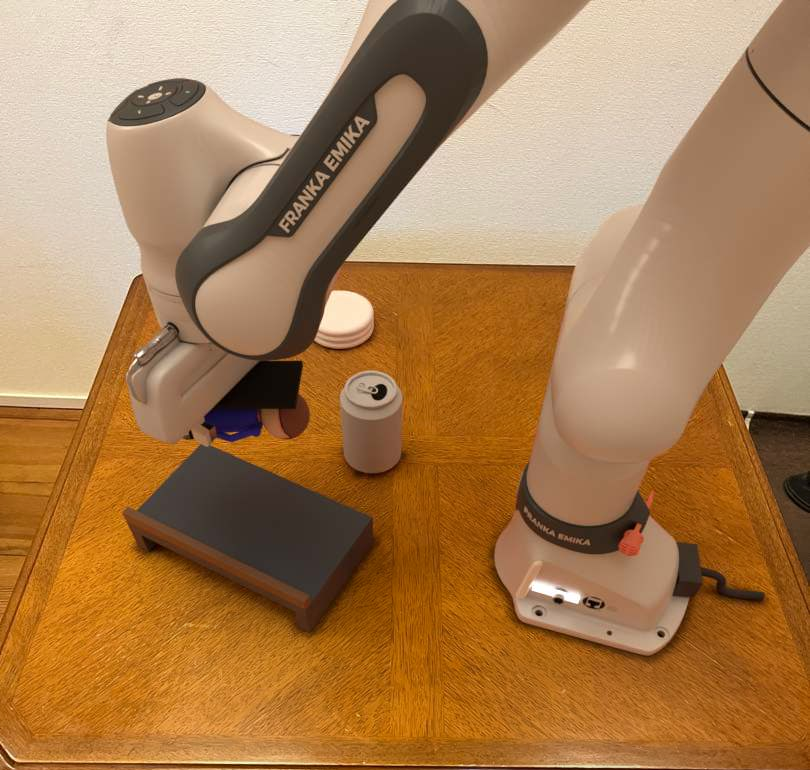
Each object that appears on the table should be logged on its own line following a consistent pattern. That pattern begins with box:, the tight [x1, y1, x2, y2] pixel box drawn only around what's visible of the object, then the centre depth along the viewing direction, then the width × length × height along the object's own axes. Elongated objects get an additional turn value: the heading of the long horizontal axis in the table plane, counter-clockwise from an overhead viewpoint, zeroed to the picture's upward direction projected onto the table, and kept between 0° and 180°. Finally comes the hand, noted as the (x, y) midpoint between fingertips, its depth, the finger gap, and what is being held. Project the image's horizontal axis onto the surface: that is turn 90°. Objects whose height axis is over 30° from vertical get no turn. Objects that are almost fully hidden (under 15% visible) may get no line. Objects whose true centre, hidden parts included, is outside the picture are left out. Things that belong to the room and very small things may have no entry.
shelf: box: [121, 444, 374, 634], centre depth 85 cm, size 24×14×7 cm, turn 62°
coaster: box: [313, 290, 375, 350], centre depth 110 cm, size 10×10×4 cm
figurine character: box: [182, 360, 311, 443], centre depth 74 cm, size 7×8×15 cm
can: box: [339, 370, 403, 474], centre depth 91 cm, size 8×8×12 cm
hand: (233, 412), depth 74 cm, fingers closed on figurine character, 7 cm apart
